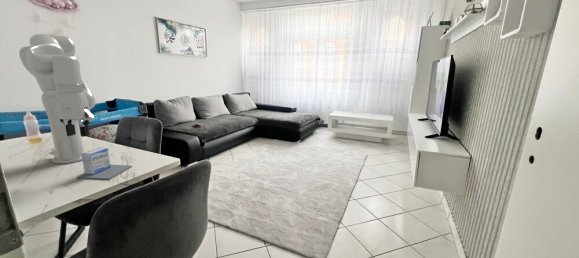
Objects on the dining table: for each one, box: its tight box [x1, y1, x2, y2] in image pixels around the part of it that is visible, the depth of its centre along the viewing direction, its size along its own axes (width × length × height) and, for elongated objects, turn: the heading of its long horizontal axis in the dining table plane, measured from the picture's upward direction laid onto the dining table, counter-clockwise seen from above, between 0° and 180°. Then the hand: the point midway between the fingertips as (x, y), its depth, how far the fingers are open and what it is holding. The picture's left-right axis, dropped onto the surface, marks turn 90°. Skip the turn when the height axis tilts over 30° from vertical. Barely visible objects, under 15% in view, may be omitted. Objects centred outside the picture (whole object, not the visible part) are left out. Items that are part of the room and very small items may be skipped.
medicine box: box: [81, 147, 112, 174], centre depth 99 cm, size 8×4×9 cm, turn 171°
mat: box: [76, 164, 133, 181], centre depth 100 cm, size 13×13×1 cm
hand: (78, 135), depth 97 cm, fingers open, 4 cm apart
